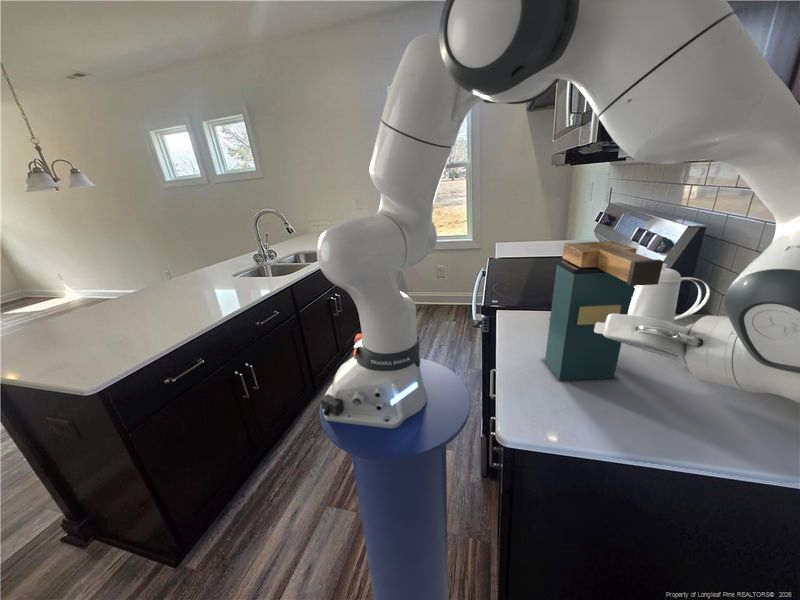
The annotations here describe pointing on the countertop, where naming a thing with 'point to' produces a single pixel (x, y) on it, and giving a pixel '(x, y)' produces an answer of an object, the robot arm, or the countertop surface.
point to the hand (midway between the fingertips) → (617, 334)
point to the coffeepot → (663, 297)
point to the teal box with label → (584, 322)
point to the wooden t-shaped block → (615, 261)
